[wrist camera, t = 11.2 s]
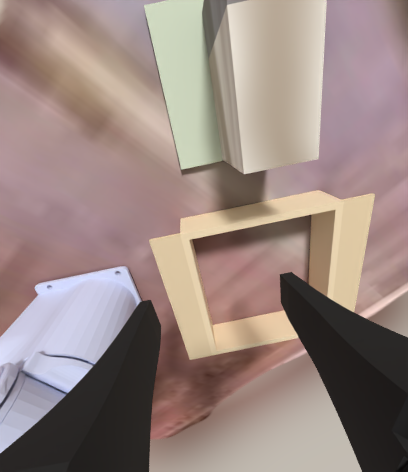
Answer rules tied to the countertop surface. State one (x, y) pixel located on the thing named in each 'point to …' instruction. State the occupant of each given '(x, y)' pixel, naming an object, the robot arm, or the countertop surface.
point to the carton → (311, 203)
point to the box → (266, 79)
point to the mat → (186, 79)
